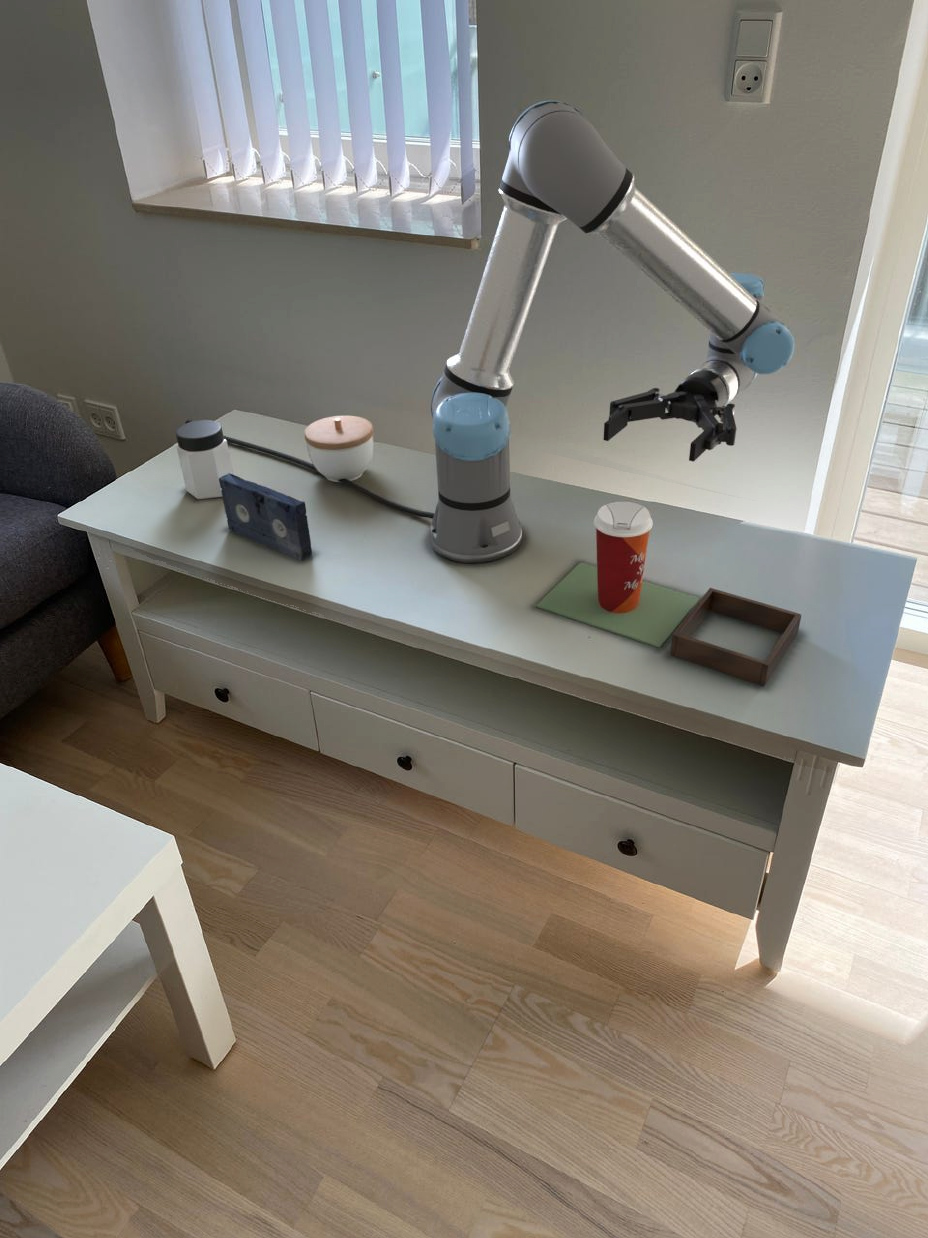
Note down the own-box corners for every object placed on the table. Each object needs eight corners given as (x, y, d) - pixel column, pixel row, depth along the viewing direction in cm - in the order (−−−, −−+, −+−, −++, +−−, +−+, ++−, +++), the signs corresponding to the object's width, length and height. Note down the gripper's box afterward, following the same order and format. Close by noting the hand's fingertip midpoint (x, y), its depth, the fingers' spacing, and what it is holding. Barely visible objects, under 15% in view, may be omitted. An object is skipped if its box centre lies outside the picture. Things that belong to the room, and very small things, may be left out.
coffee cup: (645, 619, 141) (652, 529, 132) (588, 615, 143) (591, 526, 134) (647, 588, 148) (654, 500, 139) (593, 584, 149) (596, 497, 141)
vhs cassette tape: (313, 555, 160) (305, 501, 154) (300, 562, 158) (291, 508, 153) (241, 522, 170) (231, 471, 164) (228, 529, 168) (217, 478, 163)
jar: (236, 476, 185) (224, 417, 178) (234, 496, 178) (222, 435, 171) (188, 481, 184) (174, 422, 177) (185, 501, 177) (171, 440, 170)
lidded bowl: (318, 458, 190) (311, 405, 183) (382, 459, 188) (377, 405, 182) (303, 489, 180) (295, 433, 173) (370, 489, 178) (364, 433, 172)
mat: (535, 607, 145) (535, 605, 145) (580, 563, 155) (580, 562, 155) (659, 648, 136) (660, 646, 136) (699, 599, 145) (699, 597, 145)
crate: (669, 654, 135) (671, 634, 133) (707, 607, 144) (710, 587, 141) (764, 686, 128) (768, 665, 126) (797, 634, 137) (801, 614, 135)
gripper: (778, 430, 152) (727, 485, 138) (632, 399, 164) (571, 447, 149) (786, 384, 147) (734, 436, 133) (635, 356, 159) (573, 400, 145)
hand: (648, 442), depth 141 cm, fingers open, 13 cm apart
